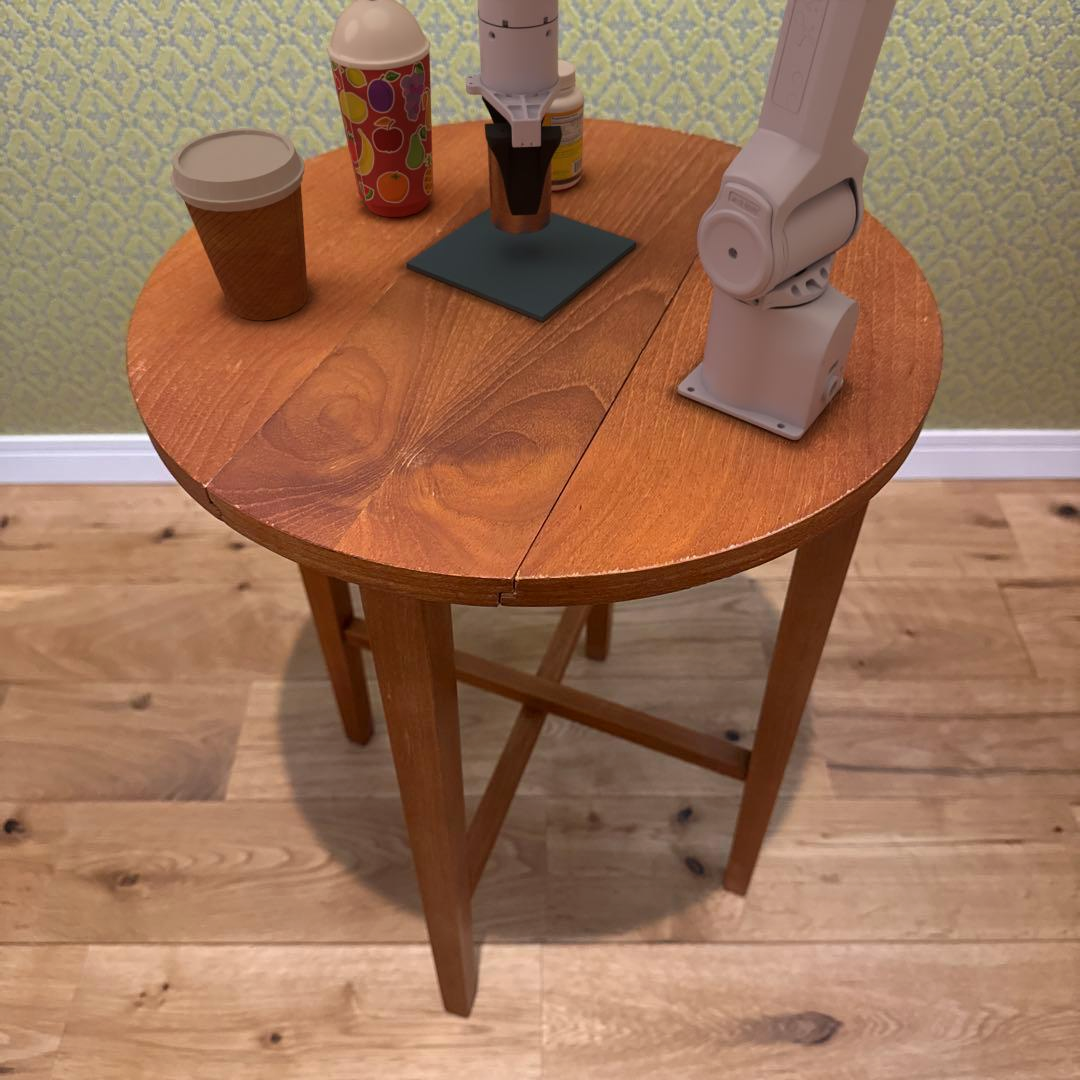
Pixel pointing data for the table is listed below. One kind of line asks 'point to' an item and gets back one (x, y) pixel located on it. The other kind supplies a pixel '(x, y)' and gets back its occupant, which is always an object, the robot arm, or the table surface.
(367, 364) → the table surface
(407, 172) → the smoothie
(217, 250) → the disposable coffee cup
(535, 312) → the mat
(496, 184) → the cylinder
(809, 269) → the robot arm
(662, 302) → the table surface
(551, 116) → the supplement bottle
